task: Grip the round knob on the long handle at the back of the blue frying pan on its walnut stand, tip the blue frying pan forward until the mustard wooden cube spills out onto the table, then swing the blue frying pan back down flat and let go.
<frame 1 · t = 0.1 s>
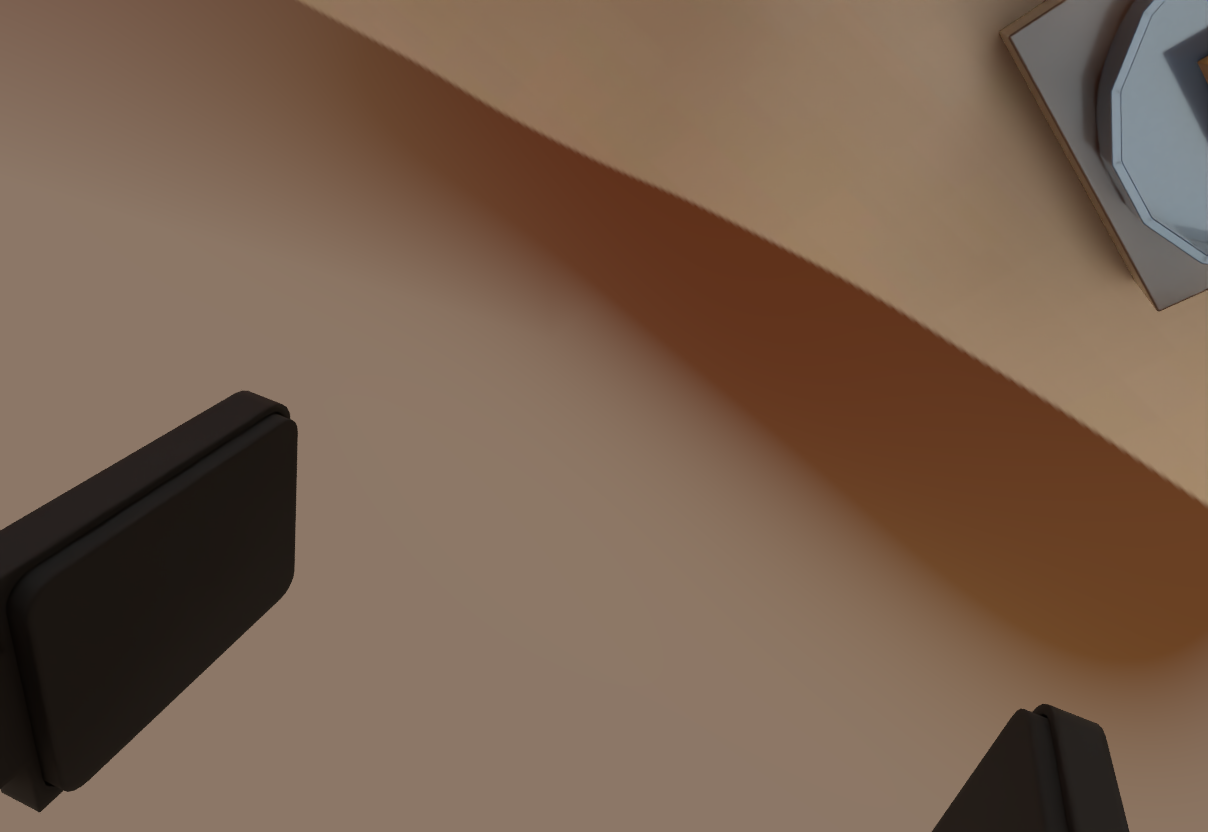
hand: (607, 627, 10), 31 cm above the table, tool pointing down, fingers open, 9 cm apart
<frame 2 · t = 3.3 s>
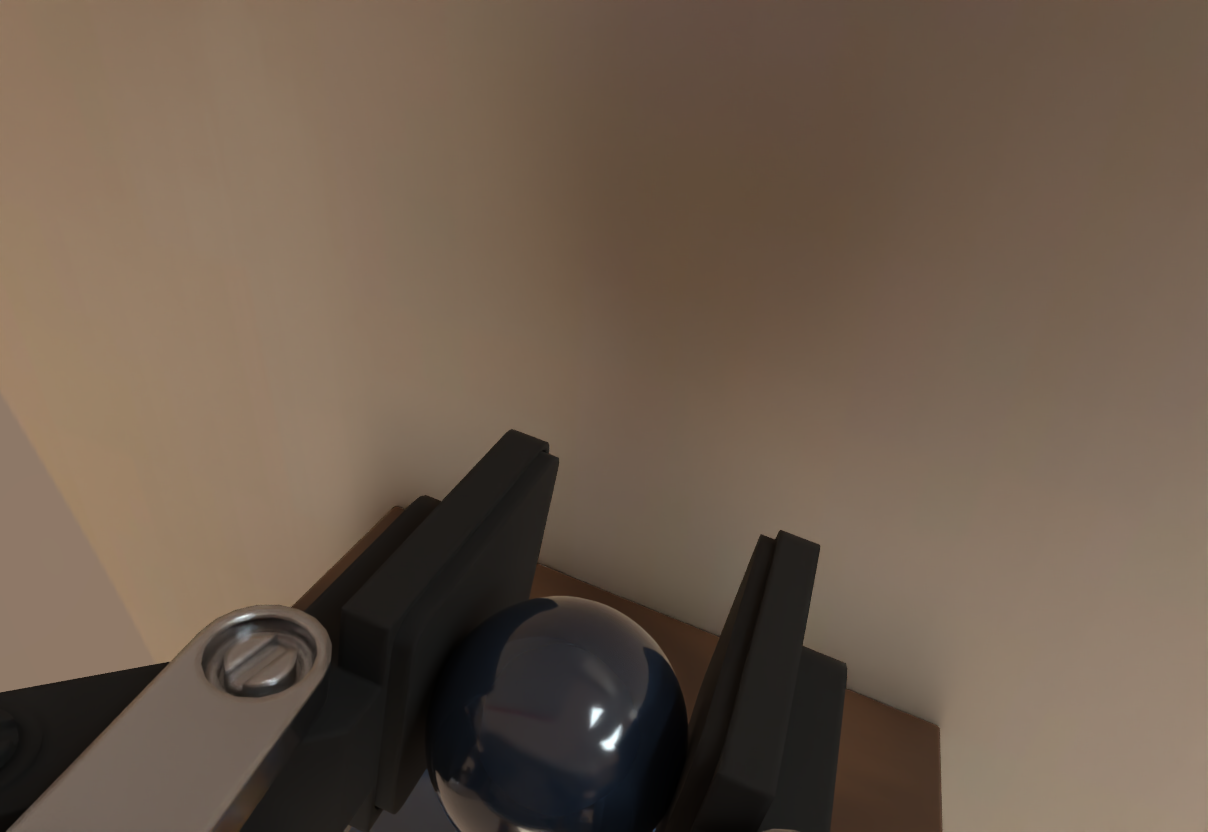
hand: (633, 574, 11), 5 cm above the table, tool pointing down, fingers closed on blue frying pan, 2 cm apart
stand: (597, 771, 21), on the table
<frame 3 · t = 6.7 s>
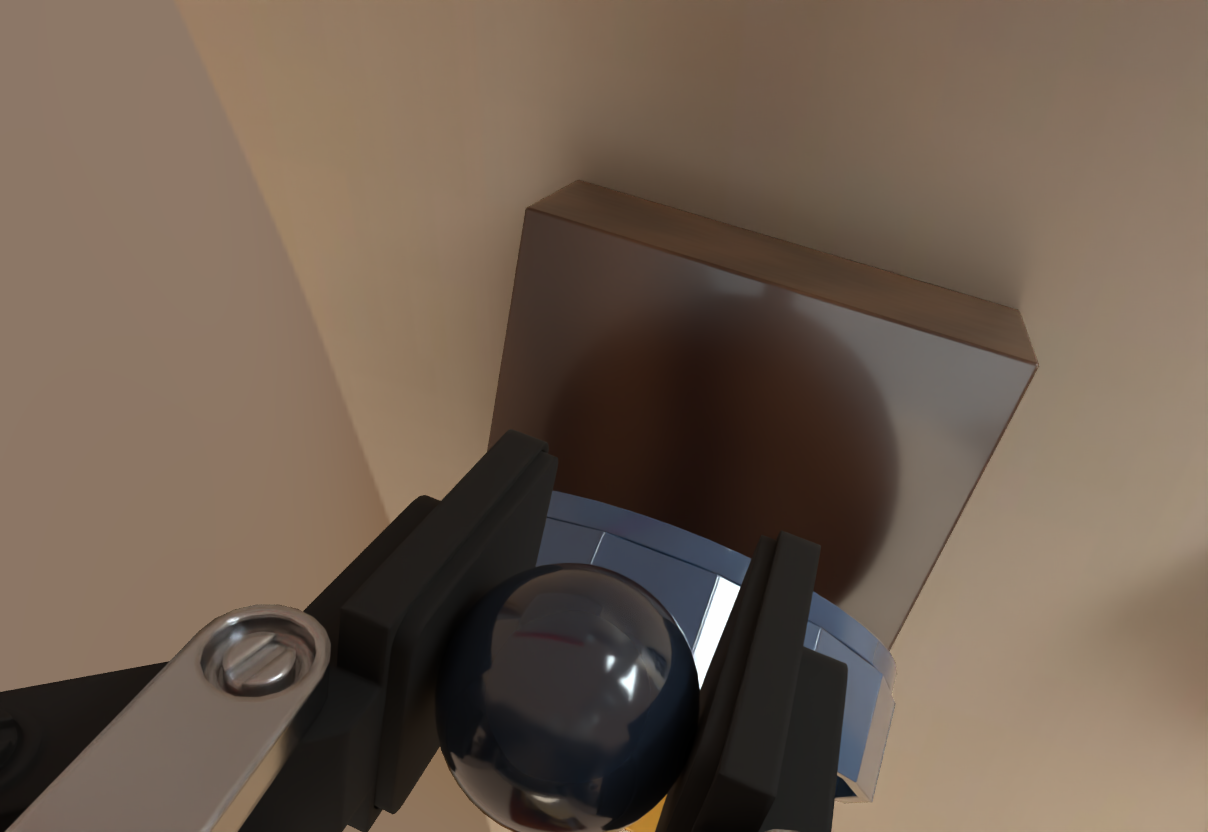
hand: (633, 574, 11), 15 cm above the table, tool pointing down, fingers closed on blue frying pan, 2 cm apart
cube: (651, 618, 21), point 8 cm above the table, tilted 36°, touching blue frying pan
stand: (731, 416, 27), on the table
blue frying pan: (619, 680, 17), point 12 cm above the table, hinge at 36.3°, touching cube, gripper
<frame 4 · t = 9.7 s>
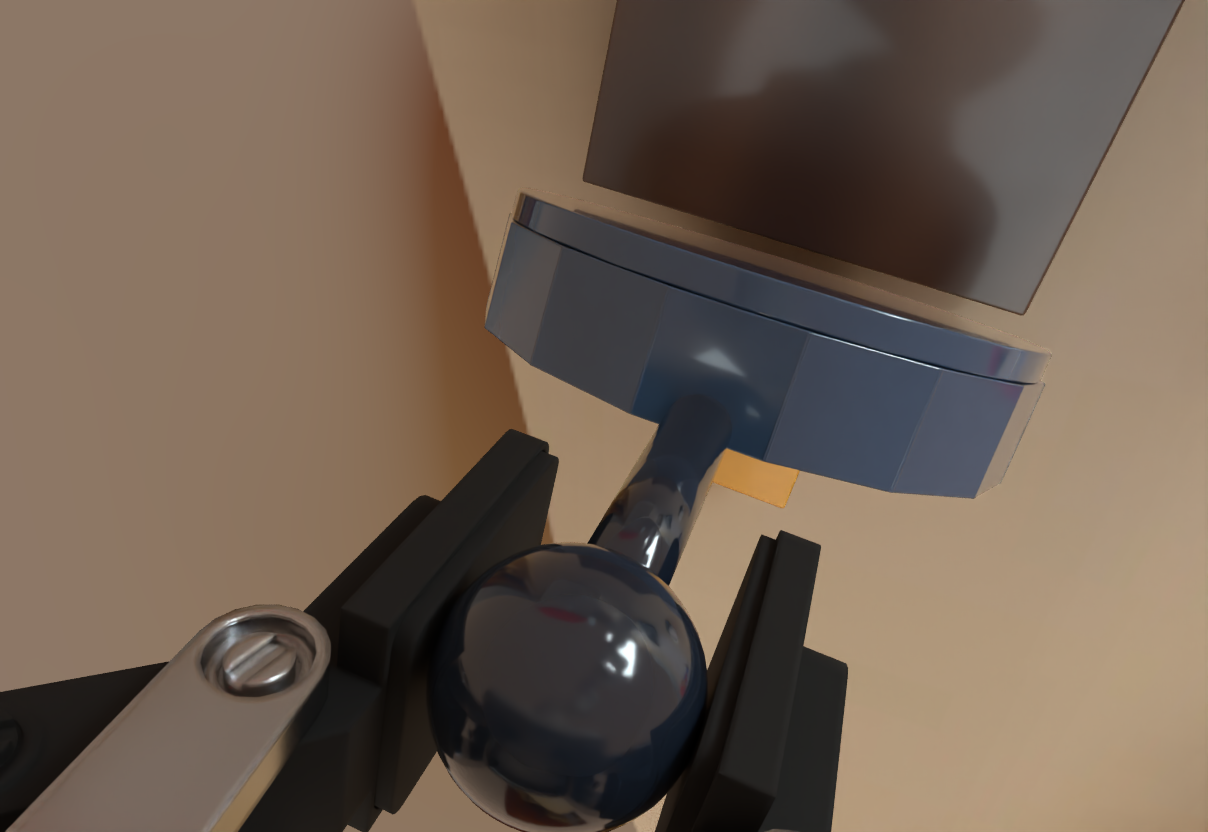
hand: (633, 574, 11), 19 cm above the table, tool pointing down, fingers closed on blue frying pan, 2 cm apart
cube: (736, 425, 26), point 5 cm above the table, tilted 180°
stand: (874, 18, 24), on the table
blue frying pan: (714, 409, 16), point 14 cm above the table, hinge at 74.9°, touching gripper
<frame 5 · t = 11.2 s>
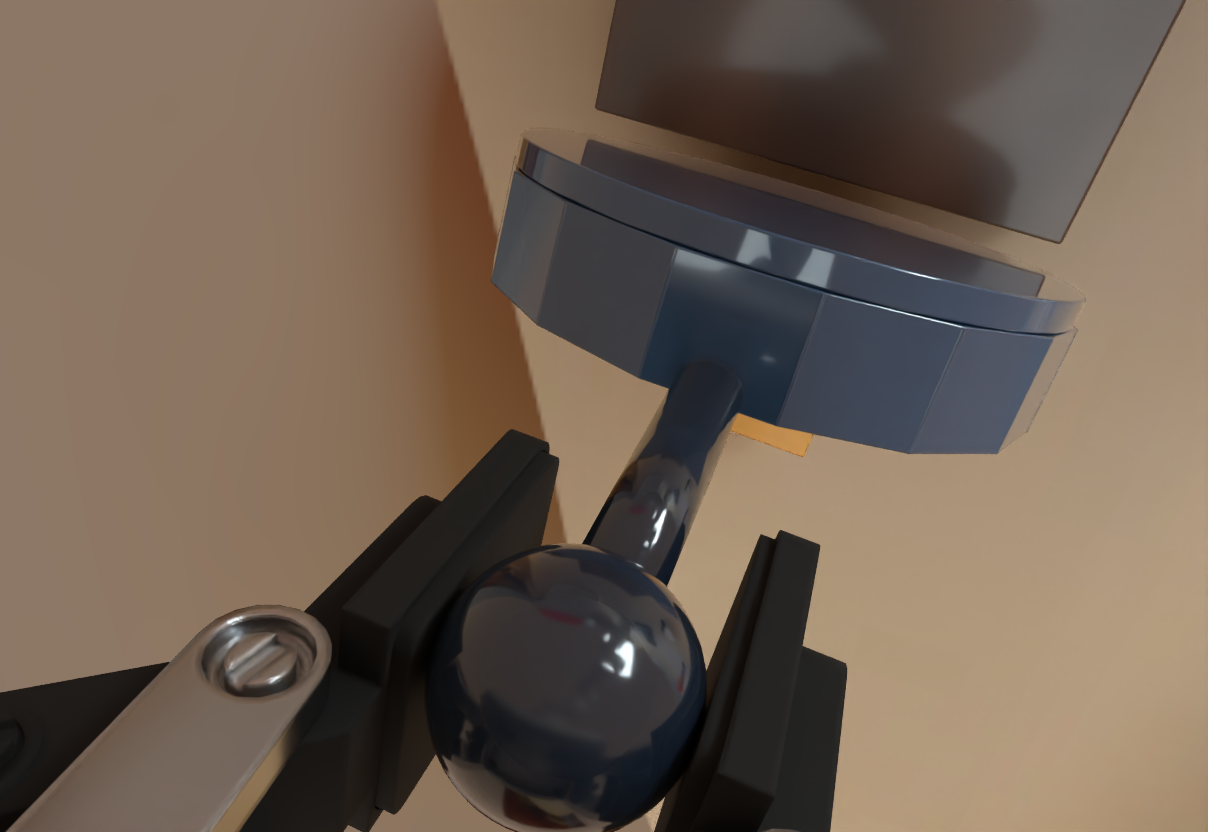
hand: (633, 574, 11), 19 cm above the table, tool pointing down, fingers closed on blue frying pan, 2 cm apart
cube: (755, 368, 25), point 5 cm above the table, tilted 180°
blue frying pan: (727, 365, 15), point 14 cm above the table, hinge at 81.6°, touching gripper
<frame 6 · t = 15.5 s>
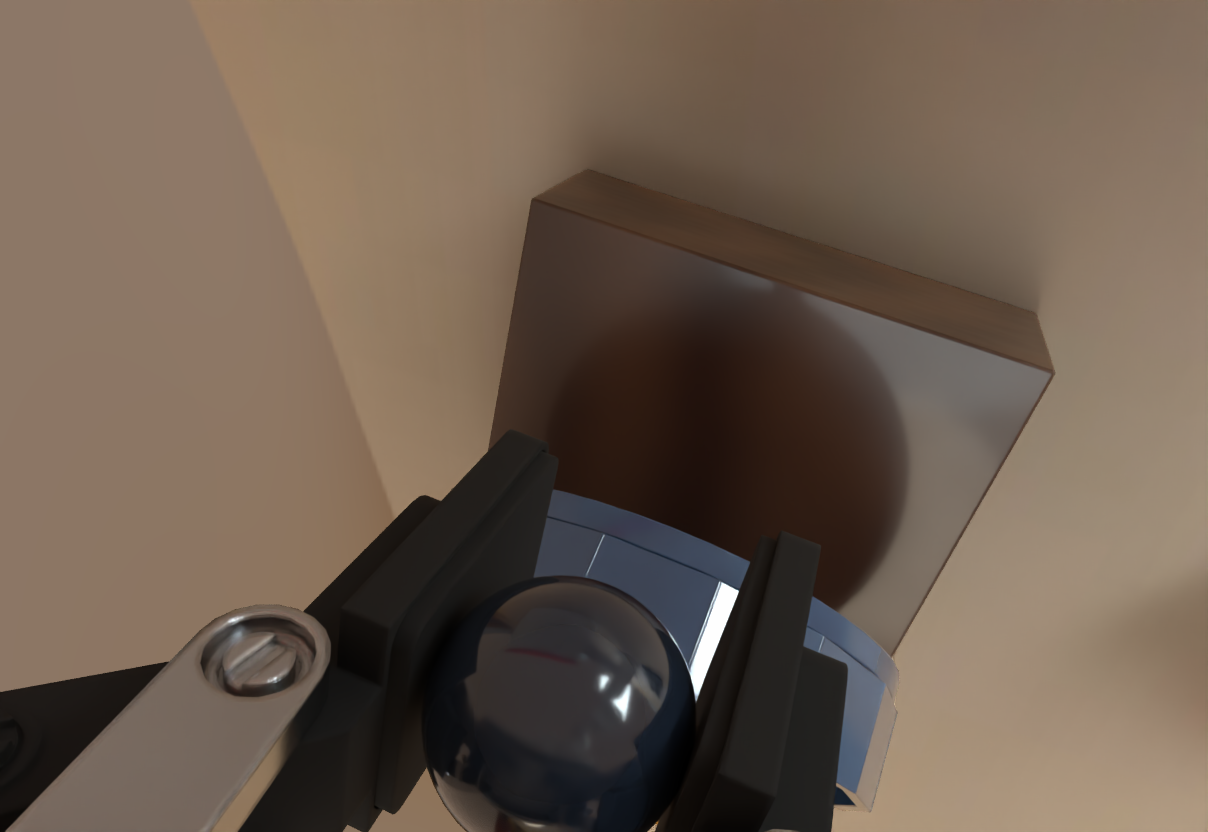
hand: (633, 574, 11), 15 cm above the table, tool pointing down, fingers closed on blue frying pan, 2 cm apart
stand: (737, 413, 26), on the table
blue frying pan: (616, 684, 16), point 12 cm above the table, hinge at 35.7°, touching gripper
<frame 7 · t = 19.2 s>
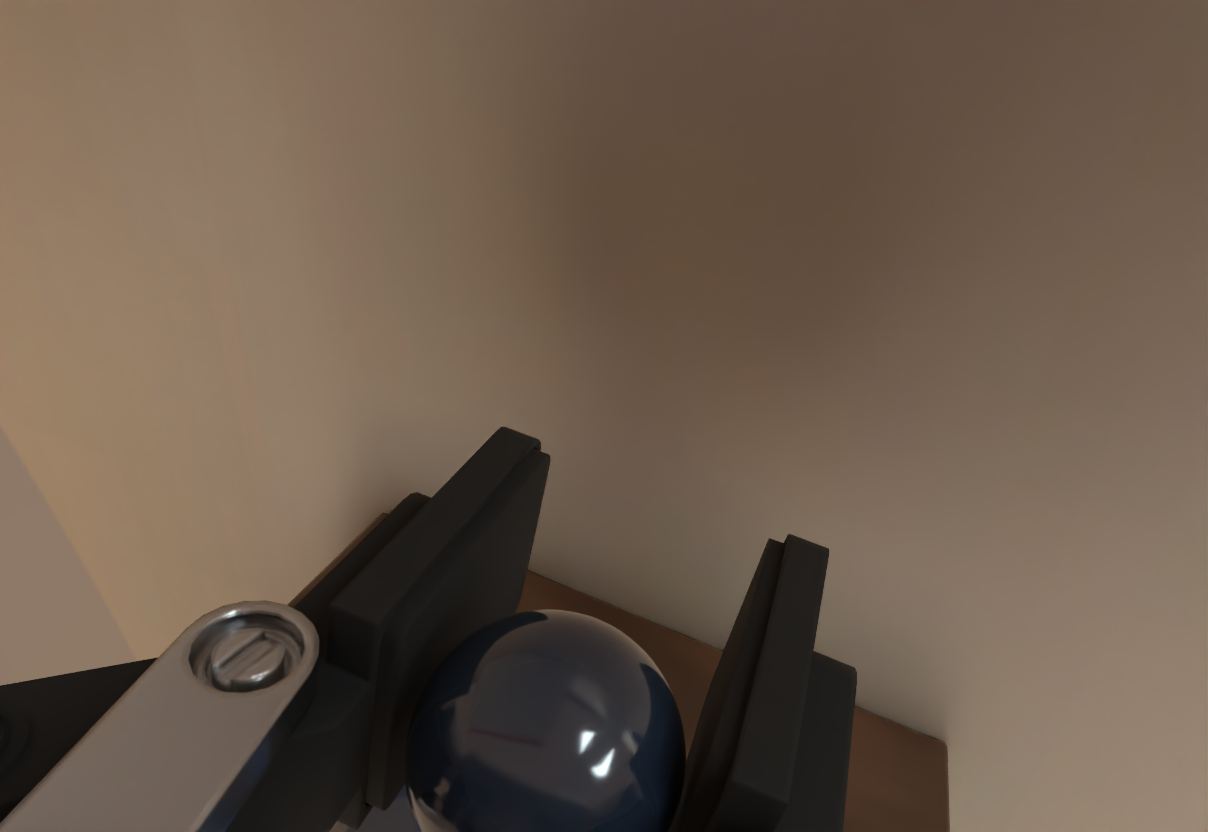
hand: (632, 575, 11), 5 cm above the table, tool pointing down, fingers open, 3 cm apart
stand: (592, 785, 21), on the table
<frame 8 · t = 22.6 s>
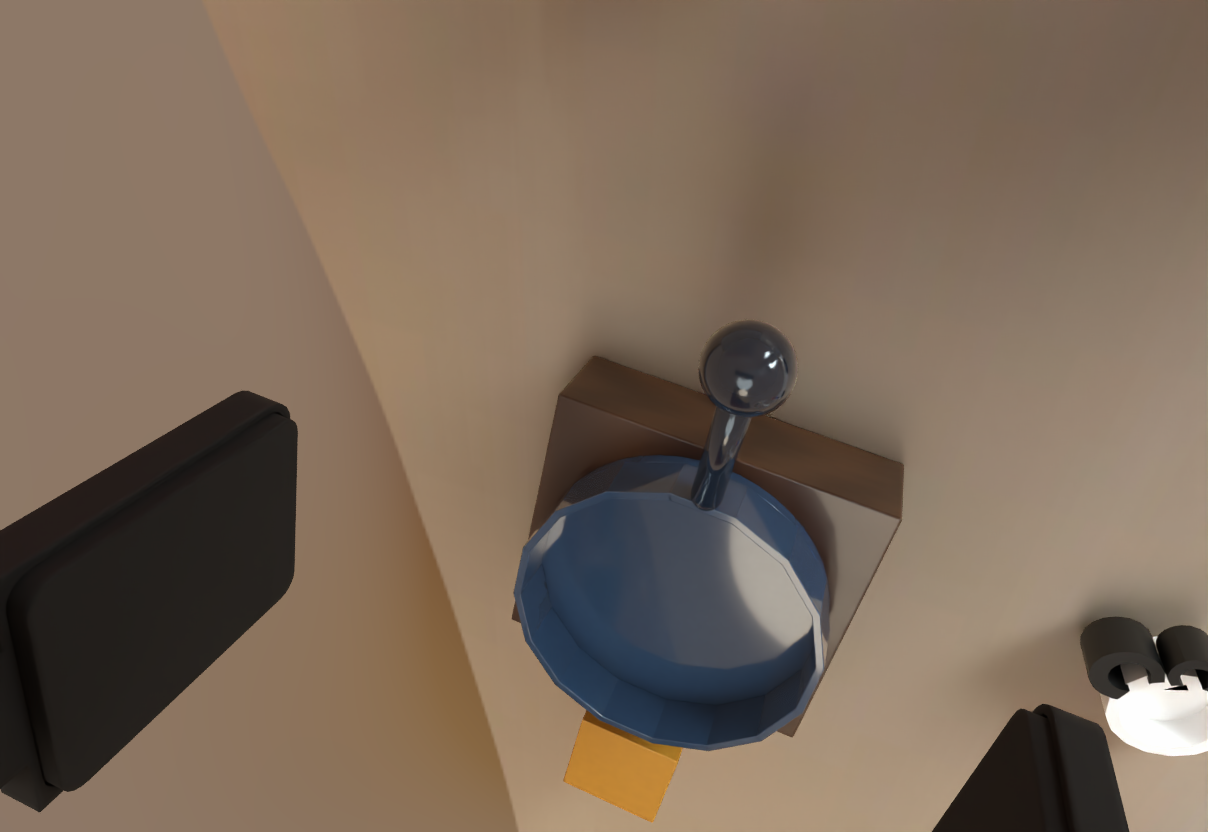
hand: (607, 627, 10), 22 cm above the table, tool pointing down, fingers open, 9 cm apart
cube: (618, 772, 38), point 5 cm above the table, tilted 180°
stand: (704, 521, 36), on the table
blue frying pan: (686, 554, 29), point 7 cm above the table, hinge at -0.5°
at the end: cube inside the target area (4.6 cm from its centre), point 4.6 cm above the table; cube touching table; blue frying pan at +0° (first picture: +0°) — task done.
